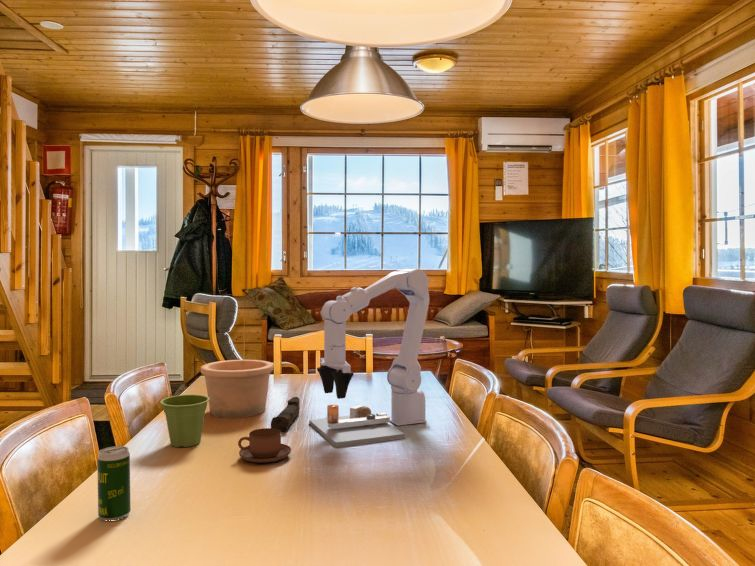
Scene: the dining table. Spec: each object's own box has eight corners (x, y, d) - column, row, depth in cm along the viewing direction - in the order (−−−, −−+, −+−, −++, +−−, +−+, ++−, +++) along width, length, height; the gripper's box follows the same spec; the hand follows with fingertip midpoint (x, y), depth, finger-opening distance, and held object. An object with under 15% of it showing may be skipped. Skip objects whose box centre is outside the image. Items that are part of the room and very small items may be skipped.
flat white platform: (370, 417, 175) (370, 402, 175) (404, 438, 154) (404, 421, 154) (309, 424, 168) (309, 408, 168) (335, 447, 147) (335, 429, 147)
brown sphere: (368, 417, 171) (368, 404, 171) (373, 420, 168) (373, 407, 168) (356, 418, 170) (356, 405, 169) (361, 421, 166) (361, 408, 166)
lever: (384, 418, 167) (384, 397, 167) (391, 423, 163) (391, 401, 163) (323, 425, 160) (323, 403, 160) (329, 430, 156) (329, 407, 156)
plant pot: (150, 447, 146) (149, 402, 146) (181, 434, 157) (181, 393, 157) (190, 453, 142) (189, 406, 142) (219, 439, 153) (219, 396, 153)
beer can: (121, 507, 111) (121, 443, 110) (136, 515, 107) (135, 449, 107) (92, 516, 106) (91, 450, 106) (106, 525, 103) (105, 457, 103)
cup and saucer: (246, 470, 131) (246, 443, 131) (233, 455, 141) (233, 429, 141) (298, 462, 136) (298, 435, 136) (281, 447, 147) (281, 423, 147)
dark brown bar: (287, 434, 159) (287, 413, 159) (270, 433, 160) (270, 413, 159) (308, 413, 181) (308, 395, 181) (292, 412, 182) (292, 395, 182)
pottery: (221, 425, 167) (221, 374, 167) (189, 410, 184) (188, 364, 183) (287, 412, 182) (286, 365, 181) (251, 399, 198) (251, 357, 198)
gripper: (310, 343, 163) (310, 391, 164) (333, 349, 151) (333, 402, 151) (333, 341, 167) (332, 389, 167) (357, 347, 154) (357, 399, 155)
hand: (334, 395), depth 159 cm, fingers open, 7 cm apart
